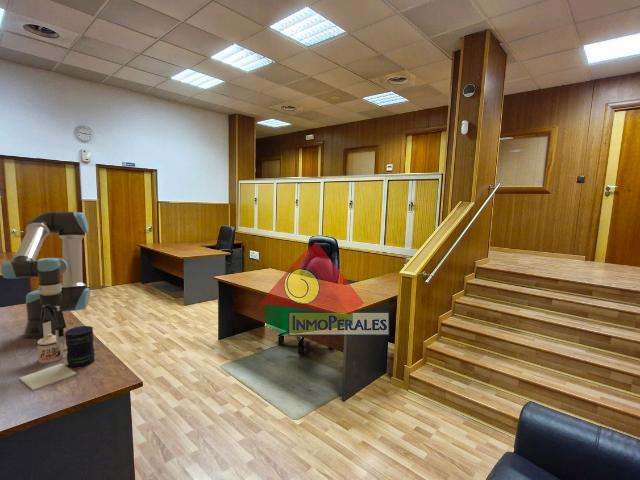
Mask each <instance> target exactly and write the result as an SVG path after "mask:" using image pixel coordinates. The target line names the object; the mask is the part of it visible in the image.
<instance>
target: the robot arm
mask: <svg viewBox="0 0 640 480" xmlns="http://www.w3.org/2000/svg"><path fill="white" fill-rule="evenodd" d="M88 233H89V223H88V219H87V217H86V215H85V213H83V212H80V211H79V212H77V211H47V212H43V213H40V214H39V215H37V216H35V217H34V218H32V219H31V220H30V221H29V223H28V224H27V225H26V226H25V235H24V237H23V239H22V241H21V243H20V245H19V247H18V249H17V251H16V253H15V255H14V257H13V259H12V261H11V260H9V261H5V262H3V263H1V267H0V272H1V276H2V277H3V278H4V279H22V278H24V279H25V278H38V287H37V289H35V290H32V291H30V292H28V293H27V294H26V295H25V306H26V318H27V322H26V324H25V325H26V326H25V328H24V331H23V334H24V335H23V336H24V338H27V339H37V338H40V339H41V338H44V337H46V336H47V334H53V335H55V336H56V344H60V343H63V344H65V343H66V342H65V340H66V339H65V328H67V325H66V320H65V317H64V313H65V312H74V311H81V310H82V311H83V310H85V309H87V307H88V305H89V302H90V296H91V294H90V293H91V292H90V291H91V289H90V288H89V287H87V284H86V283H84V282H83V242H82V241H83V239H84V238H85V237H86V234H88ZM50 234H58V237H59V238H60V239H61V241H62V249H61V250H62V258H58V257H45V258H44V257H43V258H40V259H38V260H37V258H38V255H39V252H40V250H41V248H42V245H43V244H44V241H45V238H47V237H49V236H50ZM61 275H62V276H61ZM61 277H62V279H61ZM61 281H62V282H61ZM64 342H65V343H64Z"/></svg>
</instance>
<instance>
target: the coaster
mask: <svg viewBox="0 0 640 480" xmlns="http://www.w3.org/2000/svg"><path fill="white" fill-rule="evenodd" d="M76 375H77V372H76V371H75V370H73V369H72V368H69V367H68V366H66V365H64V364H63V363H59V364H56V365H53V366H50V367H46V368H45V369H42V370H39V371H35V372H33V373H30V374H26V375H24V376H21V377H19V380H20V381H21V382H23V384H25V385H26V386H27V387H28V388H30V389H31V390H32V391H36V390H39V389H41V388H44V387H47V386H50V385H53V384H55V383H57V382H61V381H63V380H65V379H69V378H70V377H74V376H76Z"/></svg>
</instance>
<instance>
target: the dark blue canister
mask: <svg viewBox="0 0 640 480" xmlns="http://www.w3.org/2000/svg"><path fill="white" fill-rule="evenodd" d="M64 335H65V340H66V342H65V345H66V349H67V351H66V352H67V353H66V362H67V367H68V368H69V369H80V368H84V367H88V366H89V365H91V364H93V363H94V362H95V359H96V358H95V356H96V355H95V354H96V353H95V347H94V339H95V338H94V327H93V326H90V325H81V326H76V327H73V328H70V329H67V330H66V331H64Z"/></svg>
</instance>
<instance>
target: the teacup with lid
mask: <svg viewBox="0 0 640 480" xmlns="http://www.w3.org/2000/svg"><path fill="white" fill-rule="evenodd" d="M64 340H65V342H64V343H60V344H56V334H47V336H46V337H41V338H40V339H38V341H37V342H36V345H37V353H38V354H37V356H38V362H39V363H40V364H50V363H55V362H57V361H60V360H62V359H63V358H64V355H65V354H64V353H65V352H67V348H66V349H64V344H66V339H64Z"/></svg>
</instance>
